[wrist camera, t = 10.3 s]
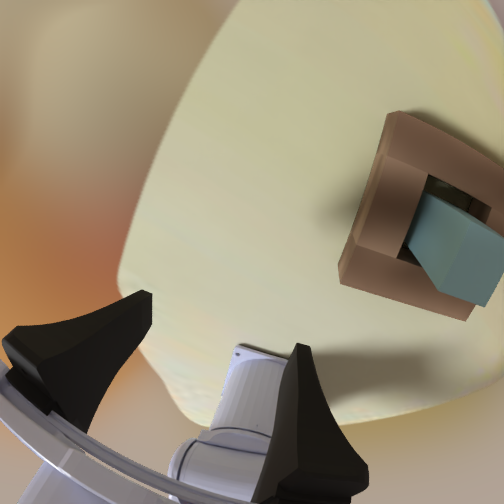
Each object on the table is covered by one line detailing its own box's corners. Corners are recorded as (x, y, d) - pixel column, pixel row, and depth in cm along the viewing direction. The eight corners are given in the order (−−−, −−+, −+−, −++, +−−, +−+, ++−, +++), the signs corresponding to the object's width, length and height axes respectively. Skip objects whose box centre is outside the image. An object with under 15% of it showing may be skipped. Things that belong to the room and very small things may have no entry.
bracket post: (440, 252, 19) (484, 307, 11) (401, 237, 19) (438, 291, 12) (459, 207, 17) (515, 246, 10) (419, 188, 17) (471, 220, 10)
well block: (453, 302, 20) (465, 321, 17) (337, 264, 21) (340, 283, 18) (506, 178, 15) (526, 186, 12) (387, 113, 16) (399, 110, 13)
